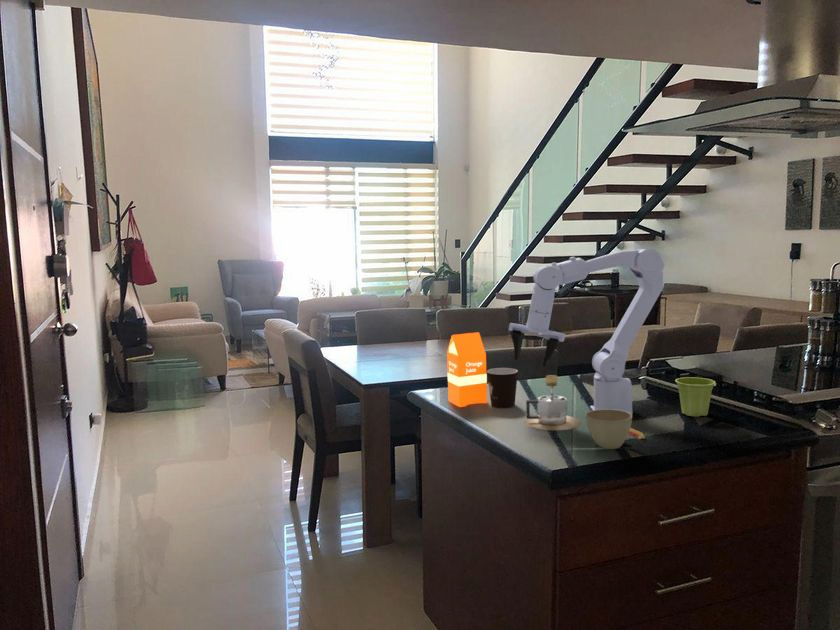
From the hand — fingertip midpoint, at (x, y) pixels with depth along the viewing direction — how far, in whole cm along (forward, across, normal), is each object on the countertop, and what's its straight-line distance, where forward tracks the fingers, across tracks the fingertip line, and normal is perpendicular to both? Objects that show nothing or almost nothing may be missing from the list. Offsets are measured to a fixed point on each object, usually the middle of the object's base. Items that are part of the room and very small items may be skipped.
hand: (530, 362), depth 173 cm
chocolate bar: (+10, +28, -9) cm, 31 cm away
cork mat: (+13, +10, -6) cm, 17 cm away
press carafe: (+13, +8, -6) cm, 16 cm away
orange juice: (+17, -18, +8) cm, 26 cm away
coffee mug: (+15, -7, +8) cm, 19 cm away
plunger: (+7, +9, -6) cm, 13 cm away
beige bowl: (+11, +25, -19) cm, 34 cm away
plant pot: (+6, +41, +12) cm, 44 cm away
